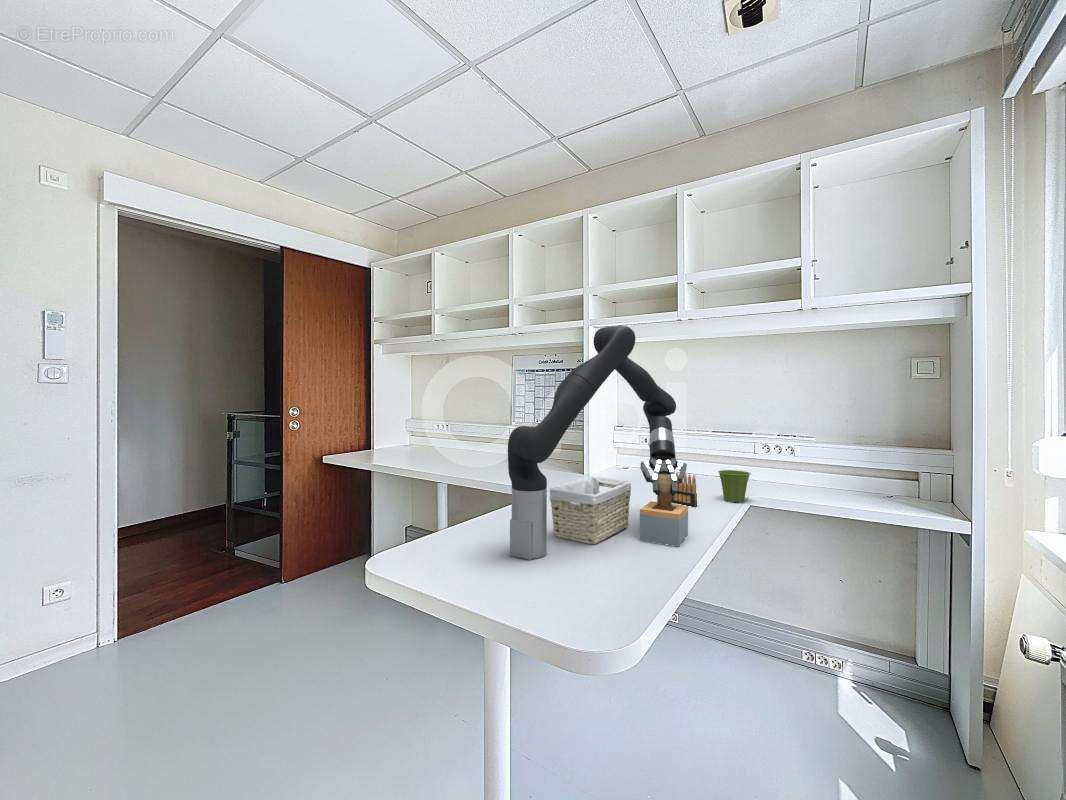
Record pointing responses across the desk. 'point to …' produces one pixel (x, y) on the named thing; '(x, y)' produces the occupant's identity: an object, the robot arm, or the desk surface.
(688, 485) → the ammunition clip
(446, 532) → the desk surface
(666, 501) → the peg
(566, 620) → the desk surface
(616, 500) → the storage basket
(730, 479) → the plant pot
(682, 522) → the sleeve
